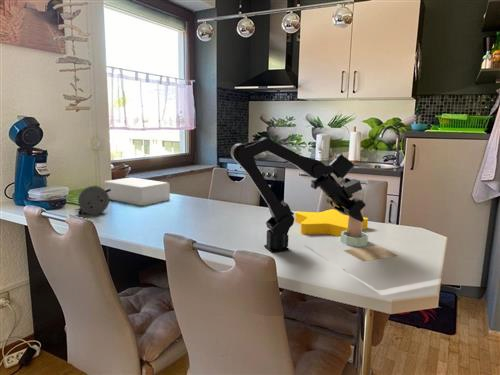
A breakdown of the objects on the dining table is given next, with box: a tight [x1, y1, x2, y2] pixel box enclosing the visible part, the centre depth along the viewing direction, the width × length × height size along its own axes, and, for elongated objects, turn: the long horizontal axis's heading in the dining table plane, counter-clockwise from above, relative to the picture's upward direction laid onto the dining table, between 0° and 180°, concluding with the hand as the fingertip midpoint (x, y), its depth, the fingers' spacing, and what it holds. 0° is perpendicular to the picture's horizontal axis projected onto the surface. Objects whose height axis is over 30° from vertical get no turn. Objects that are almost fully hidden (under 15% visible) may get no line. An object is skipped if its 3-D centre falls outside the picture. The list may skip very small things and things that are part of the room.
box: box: [104, 177, 171, 207], centre depth 195 cm, size 19×30×10 cm, turn 57°
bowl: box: [339, 231, 369, 248], centre depth 127 cm, size 9×9×4 cm
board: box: [343, 245, 399, 262], centre depth 116 cm, size 14×10×1 cm
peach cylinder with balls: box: [347, 207, 365, 238], centre depth 125 cm, size 5×5×13 cm
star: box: [294, 208, 369, 237], centre depth 147 cm, size 30×4×29 cm
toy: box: [77, 185, 111, 215], centre depth 165 cm, size 17×13×30 cm
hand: (359, 218), depth 126 cm, fingers closed on peach cylinder with balls, 5 cm apart
